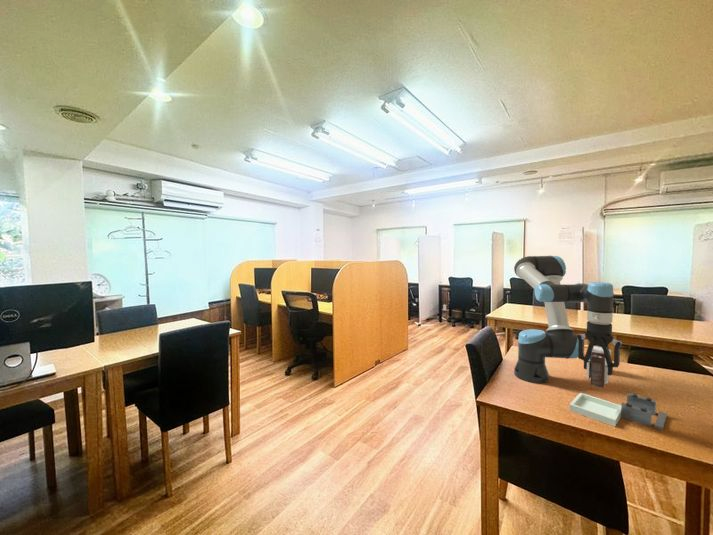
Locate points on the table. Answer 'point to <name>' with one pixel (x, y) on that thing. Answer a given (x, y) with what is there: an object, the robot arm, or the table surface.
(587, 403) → the tray
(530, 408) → the table surface
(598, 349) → the ink box
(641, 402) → the hitch bracket
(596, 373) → the box
